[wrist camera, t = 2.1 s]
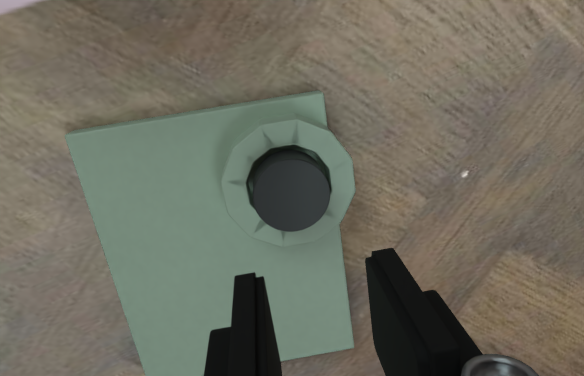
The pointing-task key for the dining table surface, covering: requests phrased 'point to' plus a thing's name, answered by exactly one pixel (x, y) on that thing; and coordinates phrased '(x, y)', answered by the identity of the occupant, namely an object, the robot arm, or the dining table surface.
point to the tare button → (290, 191)
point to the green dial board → (215, 227)
